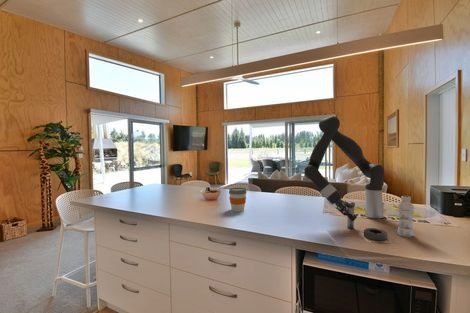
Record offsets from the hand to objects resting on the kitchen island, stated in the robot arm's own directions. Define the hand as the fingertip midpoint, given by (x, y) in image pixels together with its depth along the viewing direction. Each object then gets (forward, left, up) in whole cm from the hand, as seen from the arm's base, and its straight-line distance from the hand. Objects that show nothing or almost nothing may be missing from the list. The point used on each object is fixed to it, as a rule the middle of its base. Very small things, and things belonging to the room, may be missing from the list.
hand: (354, 219), depth 129 cm
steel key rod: (+2, -1, -6) cm, 6 cm away
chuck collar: (-4, +13, -5) cm, 15 cm away
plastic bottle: (-20, +9, -6) cm, 23 cm away
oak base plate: (-4, +13, -6) cm, 15 cm away
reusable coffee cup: (+65, -41, -6) cm, 77 cm away
